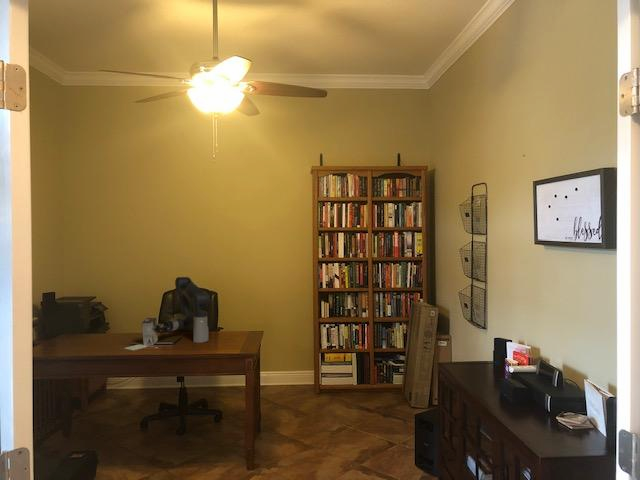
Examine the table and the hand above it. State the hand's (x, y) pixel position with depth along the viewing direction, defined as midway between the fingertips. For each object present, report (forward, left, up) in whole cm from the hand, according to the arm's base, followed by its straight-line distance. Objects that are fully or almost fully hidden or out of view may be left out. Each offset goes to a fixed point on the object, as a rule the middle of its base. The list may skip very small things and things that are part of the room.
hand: (151, 329), depth 309 cm
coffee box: (0, 0, -9) cm, 9 cm away
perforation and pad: (+12, +5, -10) cm, 16 cm away
